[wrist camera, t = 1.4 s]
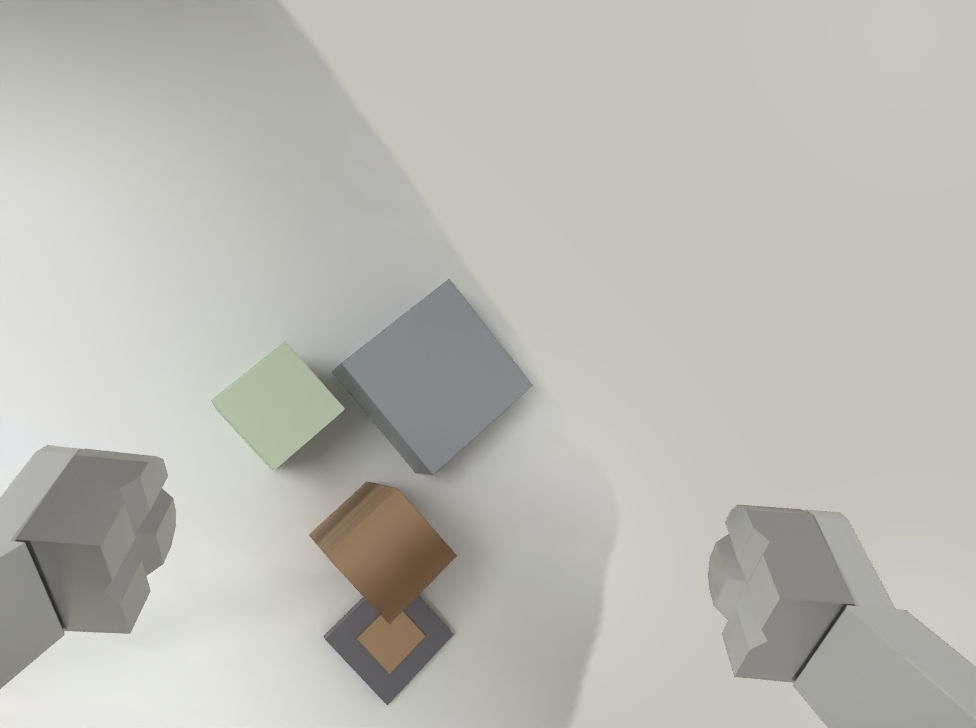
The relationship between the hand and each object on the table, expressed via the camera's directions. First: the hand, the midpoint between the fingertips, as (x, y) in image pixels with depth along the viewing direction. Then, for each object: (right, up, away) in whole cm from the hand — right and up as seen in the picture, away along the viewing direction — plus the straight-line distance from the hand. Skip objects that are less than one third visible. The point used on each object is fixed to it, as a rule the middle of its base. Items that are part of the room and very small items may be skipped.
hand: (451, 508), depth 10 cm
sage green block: (-14, -1, +36) cm, 38 cm away
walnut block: (-8, -9, +37) cm, 39 cm away
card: (-6, -16, +36) cm, 40 cm away
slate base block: (-4, +1, +39) cm, 40 cm away
